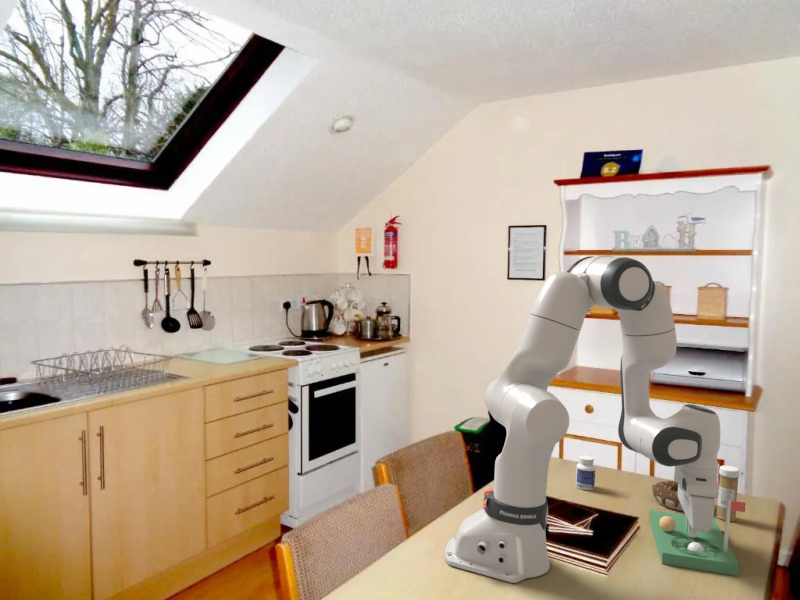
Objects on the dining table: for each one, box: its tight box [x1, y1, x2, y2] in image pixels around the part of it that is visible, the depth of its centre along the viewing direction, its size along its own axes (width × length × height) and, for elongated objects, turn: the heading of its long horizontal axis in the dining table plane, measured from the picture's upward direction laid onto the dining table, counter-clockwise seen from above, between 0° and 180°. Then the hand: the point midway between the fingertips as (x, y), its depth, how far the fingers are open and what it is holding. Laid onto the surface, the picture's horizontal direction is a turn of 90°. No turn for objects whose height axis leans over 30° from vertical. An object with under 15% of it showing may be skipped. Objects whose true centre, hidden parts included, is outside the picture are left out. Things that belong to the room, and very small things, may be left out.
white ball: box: [687, 542, 705, 553], centre depth 136 cm, size 4×4×4 cm
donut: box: [651, 480, 684, 512], centre depth 167 cm, size 14×14×5 cm
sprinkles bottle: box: [716, 464, 740, 522], centre depth 158 cm, size 5×5×14 cm
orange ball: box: [659, 516, 676, 532], centre depth 143 cm, size 4×4×4 cm
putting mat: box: [648, 500, 746, 577], centre depth 142 cm, size 17×24×14 cm
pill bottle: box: [575, 454, 596, 491], centre depth 176 cm, size 5×5×9 cm
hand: (691, 534), depth 140 cm, fingers closed
